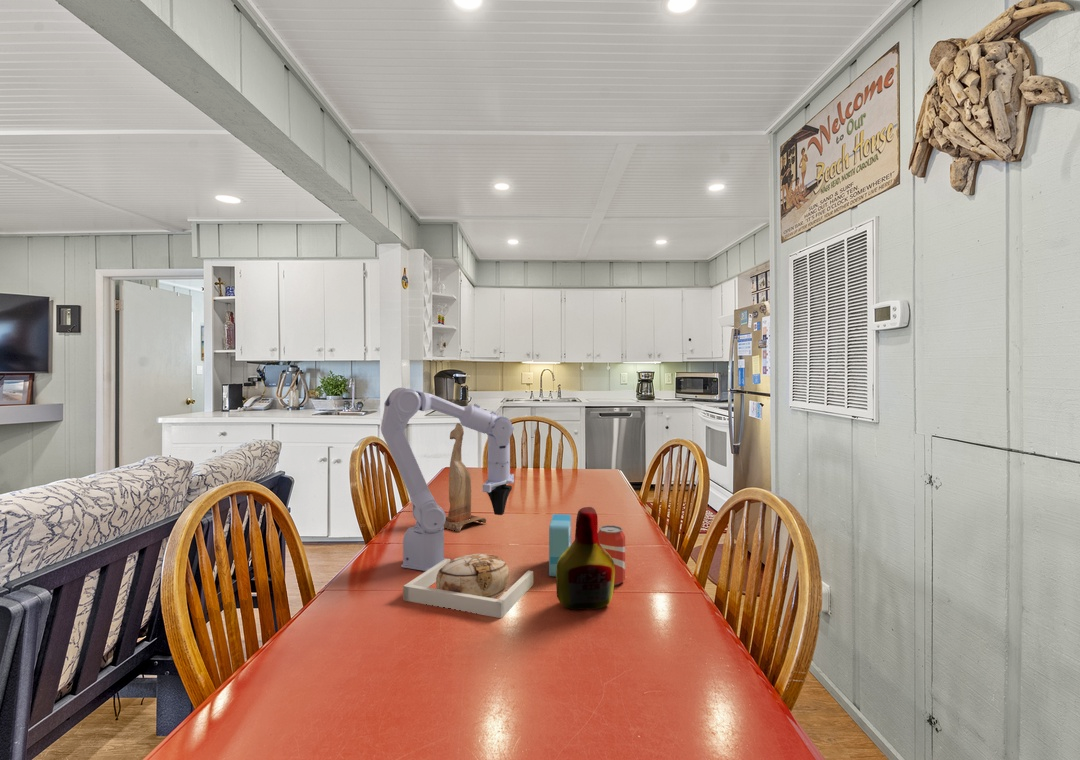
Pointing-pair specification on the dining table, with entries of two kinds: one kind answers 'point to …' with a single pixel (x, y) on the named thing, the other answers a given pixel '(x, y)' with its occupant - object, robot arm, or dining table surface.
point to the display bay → (464, 602)
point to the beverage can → (614, 548)
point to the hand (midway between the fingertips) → (499, 514)
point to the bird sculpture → (459, 487)
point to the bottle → (585, 567)
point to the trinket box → (474, 575)
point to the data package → (558, 539)
